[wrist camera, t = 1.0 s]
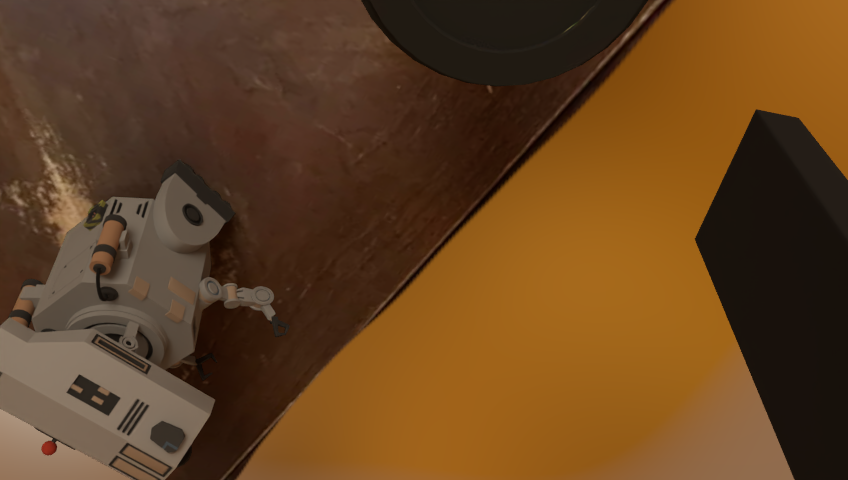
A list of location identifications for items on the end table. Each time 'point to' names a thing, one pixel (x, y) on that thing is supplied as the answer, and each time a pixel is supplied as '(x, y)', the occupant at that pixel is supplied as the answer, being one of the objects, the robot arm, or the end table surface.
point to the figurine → (123, 330)
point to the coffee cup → (502, 35)
